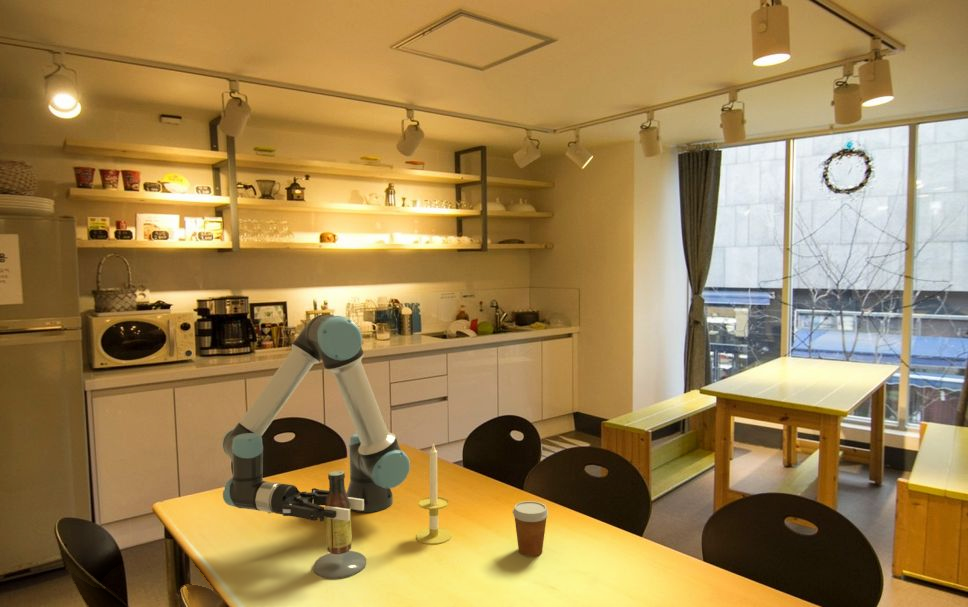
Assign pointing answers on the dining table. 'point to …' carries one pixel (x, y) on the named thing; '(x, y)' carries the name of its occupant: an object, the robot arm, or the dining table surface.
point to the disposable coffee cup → (530, 526)
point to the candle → (433, 508)
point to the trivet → (339, 565)
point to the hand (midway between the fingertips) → (356, 509)
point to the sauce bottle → (337, 529)
